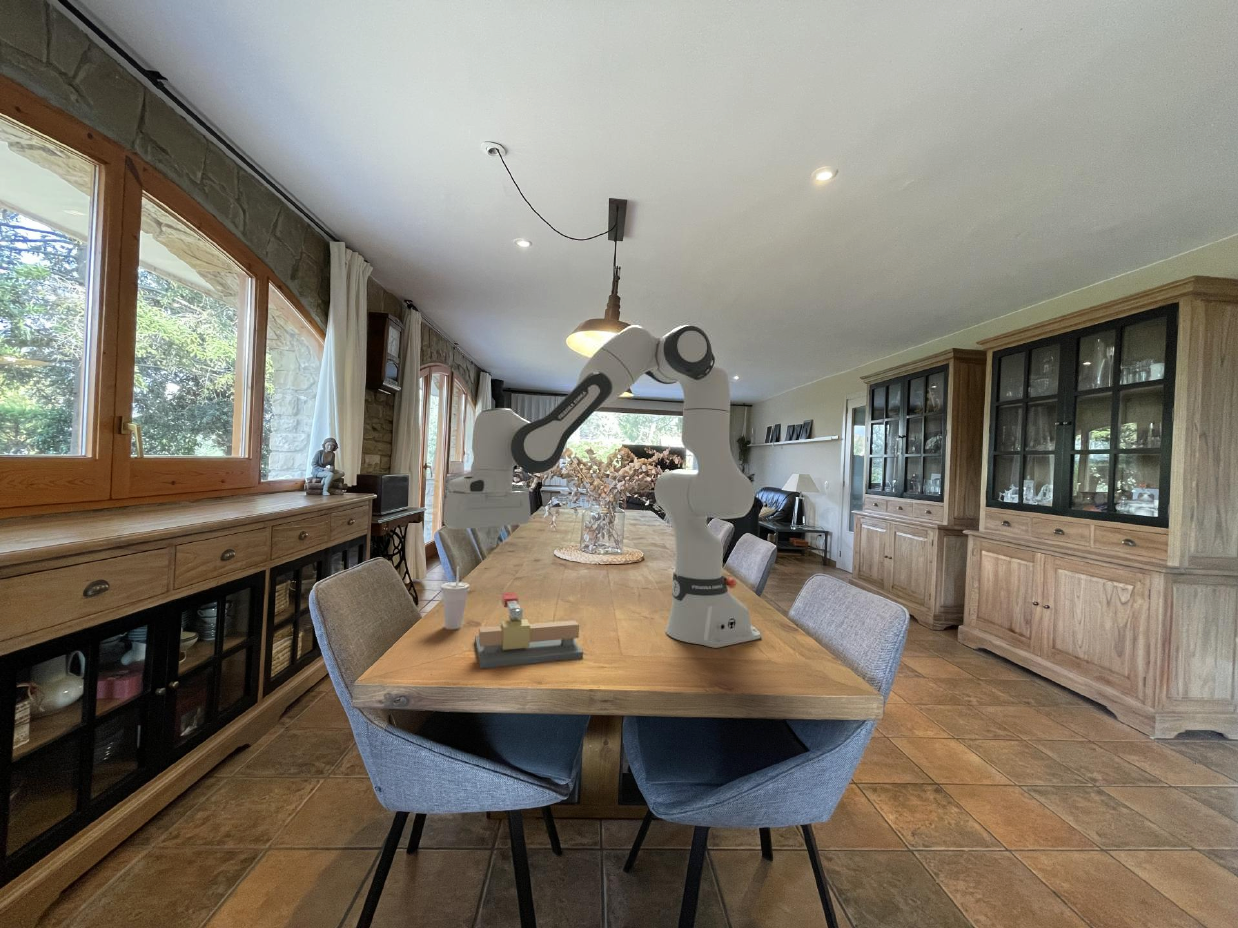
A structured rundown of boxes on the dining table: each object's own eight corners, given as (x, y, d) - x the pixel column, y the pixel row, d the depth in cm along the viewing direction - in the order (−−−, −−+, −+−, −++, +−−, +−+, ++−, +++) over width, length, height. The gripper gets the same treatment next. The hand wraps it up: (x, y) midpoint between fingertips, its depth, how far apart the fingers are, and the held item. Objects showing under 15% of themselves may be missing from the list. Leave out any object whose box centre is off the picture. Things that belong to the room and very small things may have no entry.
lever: (523, 620, 99) (524, 609, 99) (509, 621, 98) (510, 610, 98) (513, 601, 111) (514, 592, 111) (501, 602, 110) (501, 592, 110)
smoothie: (458, 632, 111) (461, 570, 111) (433, 629, 112) (435, 568, 112) (472, 623, 117) (475, 565, 117) (448, 620, 118) (450, 562, 118)
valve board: (565, 634, 113) (566, 603, 113) (582, 657, 100) (584, 623, 100) (474, 641, 105) (476, 609, 105) (480, 668, 92) (482, 631, 92)
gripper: (520, 482, 116) (517, 540, 116) (441, 482, 100) (437, 549, 100) (537, 484, 112) (535, 544, 112) (458, 484, 96) (455, 554, 96)
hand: (488, 547), depth 106 cm, fingers closed
